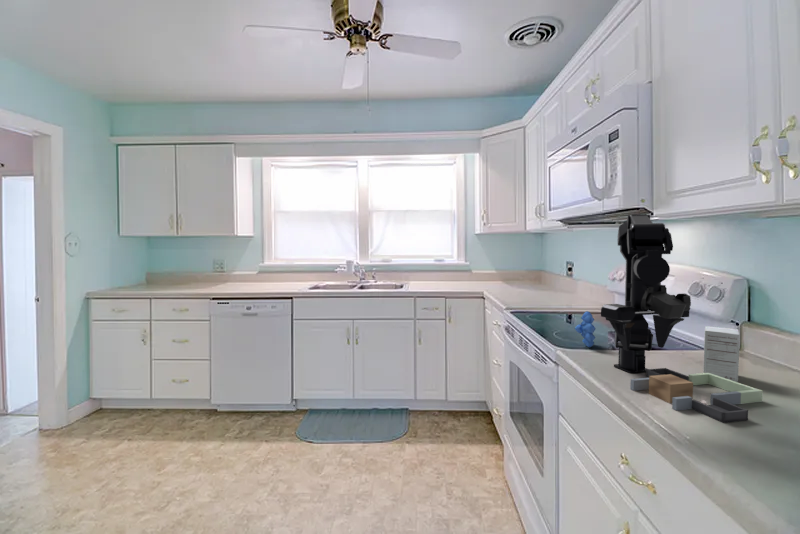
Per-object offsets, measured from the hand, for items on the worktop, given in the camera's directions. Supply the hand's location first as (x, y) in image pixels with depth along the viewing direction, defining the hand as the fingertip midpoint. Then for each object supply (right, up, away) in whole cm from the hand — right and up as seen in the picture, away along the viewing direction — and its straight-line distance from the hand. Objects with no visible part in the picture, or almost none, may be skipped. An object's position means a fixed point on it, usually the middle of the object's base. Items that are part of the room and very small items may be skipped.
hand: (643, 348), depth 91 cm
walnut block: (+8, -12, +3) cm, 15 cm away
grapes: (+10, -9, +50) cm, 52 cm away
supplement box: (+31, -11, +18) cm, 38 cm away
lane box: (+15, -12, +4) cm, 19 cm away
